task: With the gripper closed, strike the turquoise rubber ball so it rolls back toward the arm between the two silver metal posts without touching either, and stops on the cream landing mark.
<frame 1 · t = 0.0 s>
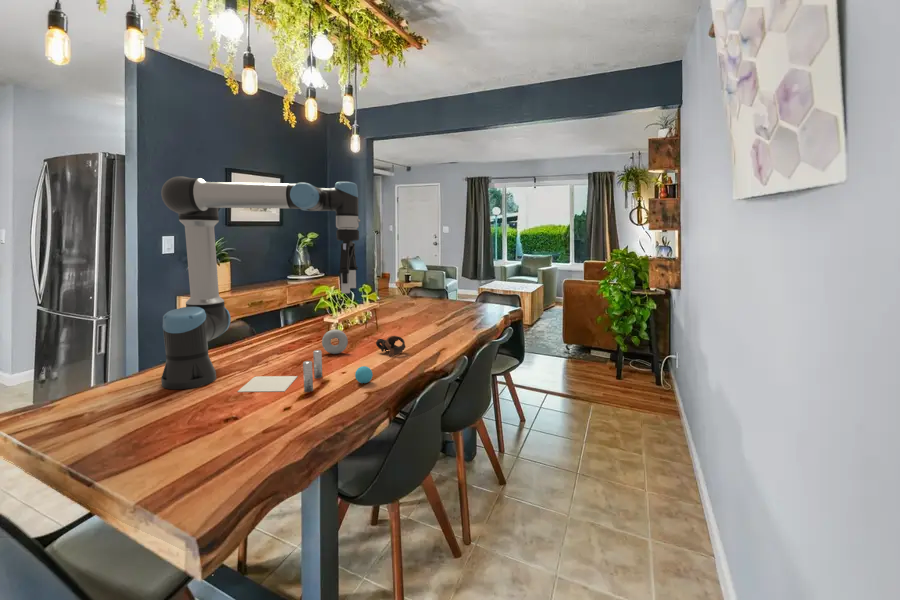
hand: (349, 290, 153), 28 cm above the table, tool pointing down, fingers open, 13 cm apart
post 1: (308, 390, 134), on the table
ball: (363, 374, 141), on the table
donut: (335, 354, 175), on the table
landing mark: (269, 383, 140), on the table
dark brown looped sculpture: (390, 354, 177), on the table
post 2: (318, 377, 147), on the table
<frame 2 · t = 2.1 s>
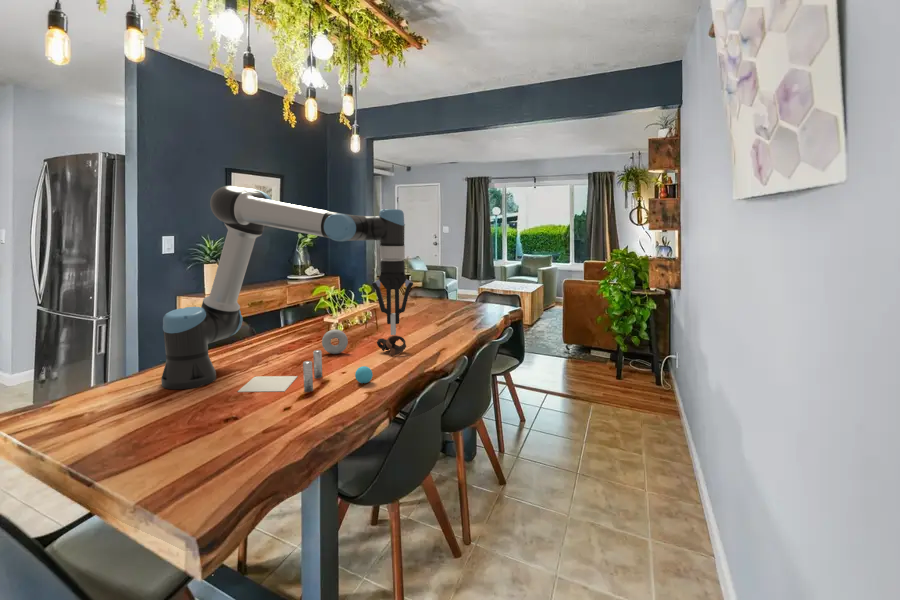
hand: (393, 333, 140), 16 cm above the table, tool pointing down, fingers closed
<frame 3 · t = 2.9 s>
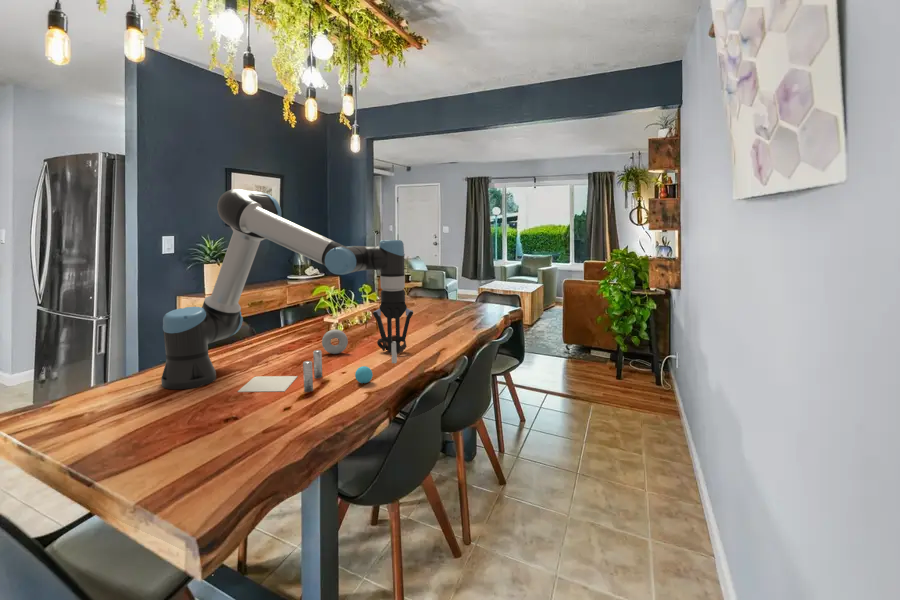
hand: (394, 361, 141), 7 cm above the table, tool pointing down, fingers closed
nothing on the table moved.
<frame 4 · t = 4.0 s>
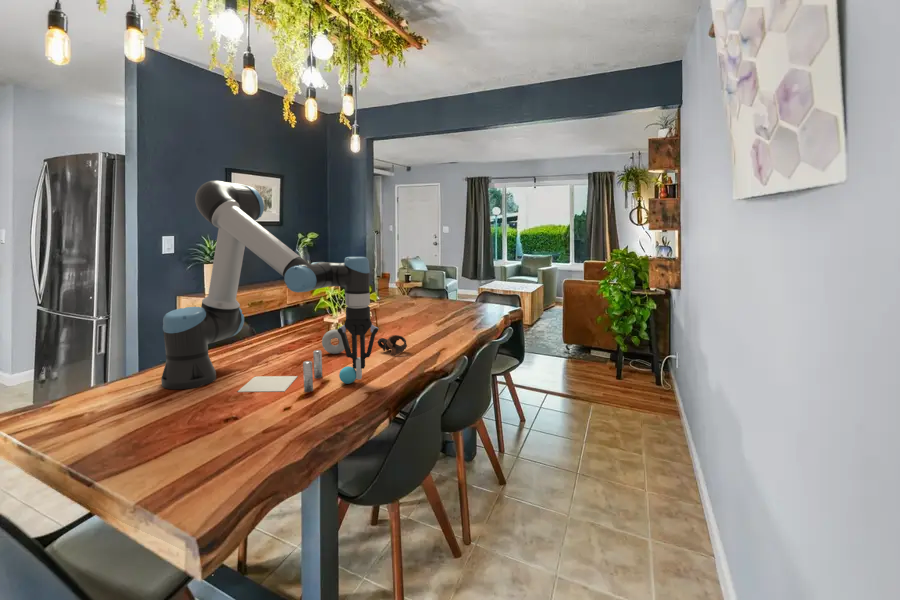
hand: (359, 377, 142), 2 cm above the table, tool pointing down, fingers closed
ball: (348, 375, 141), on the table
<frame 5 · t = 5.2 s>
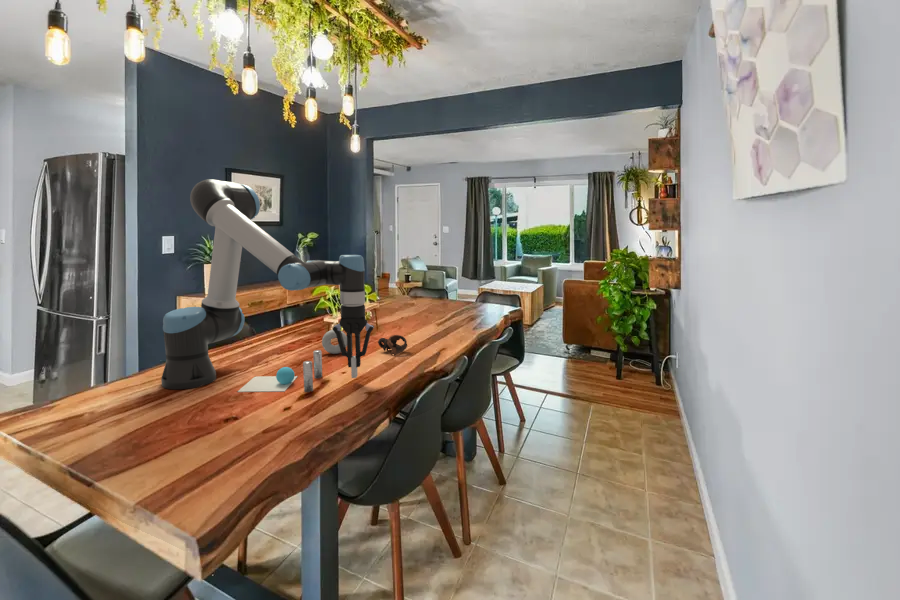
hand: (354, 376, 141), 2 cm above the table, tool pointing down, fingers closed
ball: (285, 375, 140), on the table
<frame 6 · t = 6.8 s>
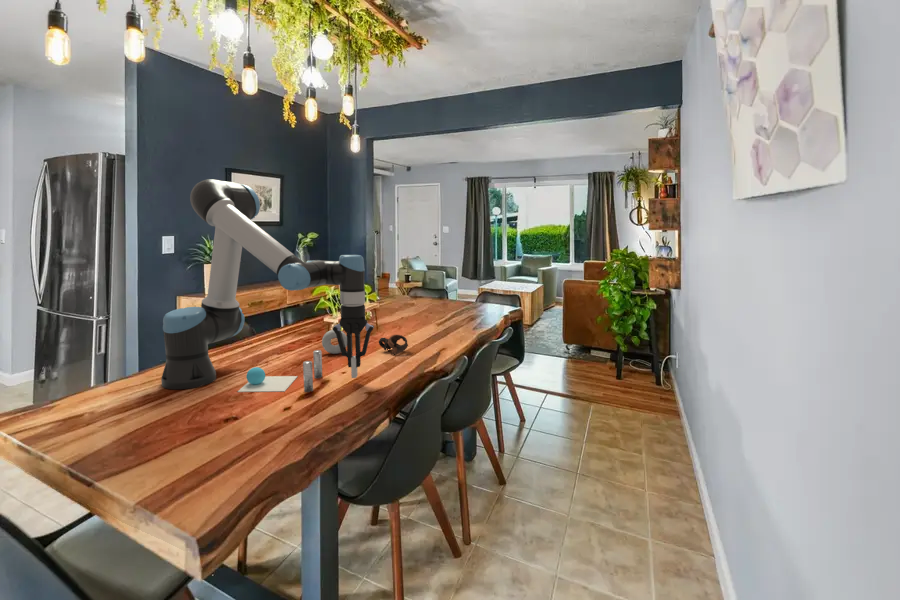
hand: (354, 376, 141), 2 cm above the table, tool pointing down, fingers closed
ball: (255, 375, 139), on the table
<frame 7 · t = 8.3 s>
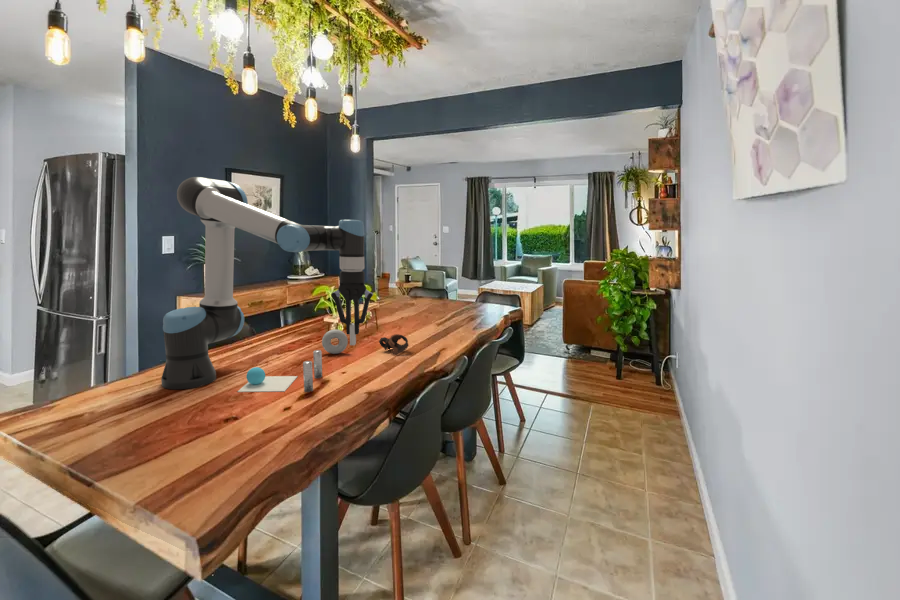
hand: (352, 344, 140), 13 cm above the table, tool pointing down, fingers closed
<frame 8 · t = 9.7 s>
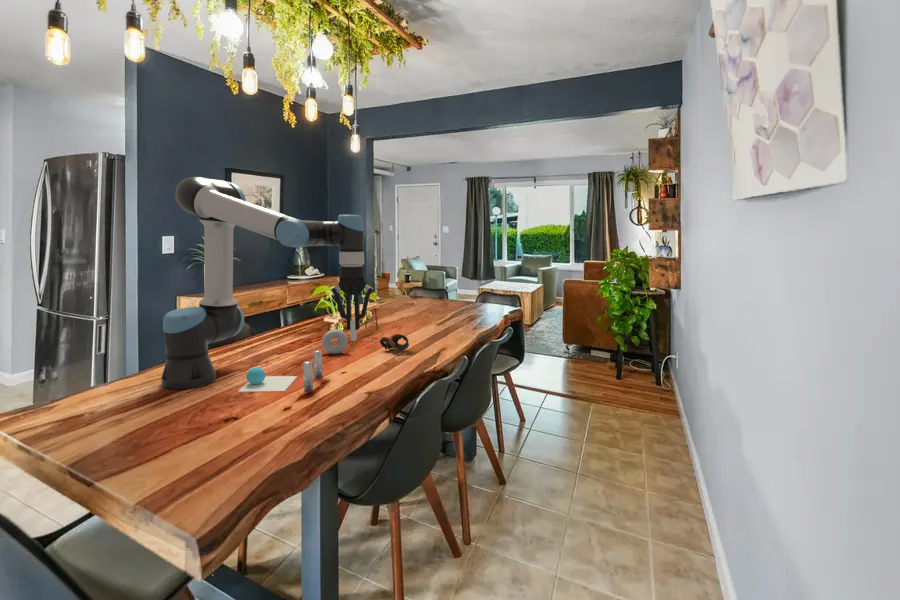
hand: (353, 339, 139), 14 cm above the table, tool pointing down, fingers closed
at the end: ball 3.9 cm from the landing mark (horizontally); ball never touched post 2; ball never touched post 1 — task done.
